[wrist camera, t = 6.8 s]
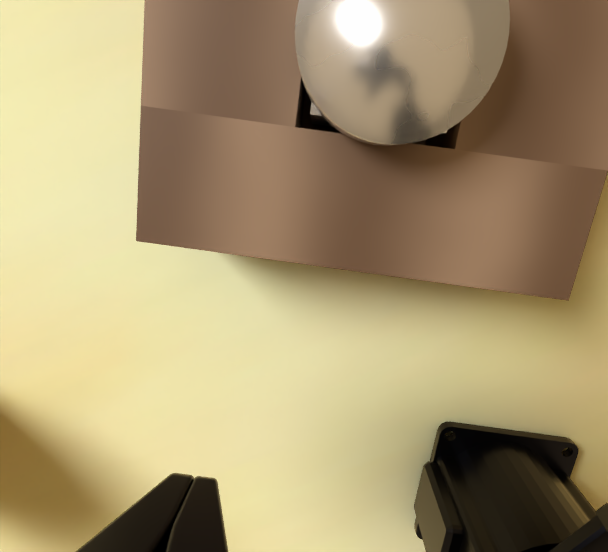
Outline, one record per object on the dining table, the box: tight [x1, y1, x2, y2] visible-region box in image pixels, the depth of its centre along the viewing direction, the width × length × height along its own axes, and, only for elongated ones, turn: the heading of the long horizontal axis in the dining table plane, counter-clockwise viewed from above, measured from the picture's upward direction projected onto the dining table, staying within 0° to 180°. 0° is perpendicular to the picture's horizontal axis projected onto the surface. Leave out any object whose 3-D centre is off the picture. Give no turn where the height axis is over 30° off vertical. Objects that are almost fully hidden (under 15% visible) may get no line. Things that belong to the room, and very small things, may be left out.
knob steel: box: [295, 0, 510, 146], centre depth 13 cm, size 5×5×5 cm
